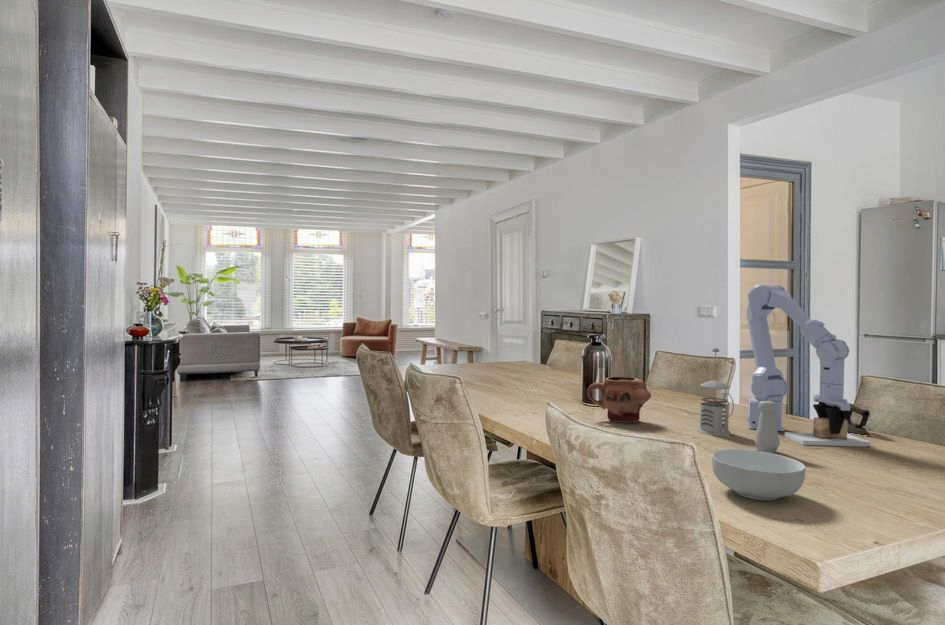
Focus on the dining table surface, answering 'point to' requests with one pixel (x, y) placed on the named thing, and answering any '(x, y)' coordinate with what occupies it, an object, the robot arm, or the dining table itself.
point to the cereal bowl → (758, 473)
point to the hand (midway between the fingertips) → (830, 431)
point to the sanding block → (828, 429)
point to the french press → (714, 409)
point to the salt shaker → (767, 428)
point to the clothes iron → (858, 428)
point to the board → (826, 440)
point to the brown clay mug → (621, 397)
